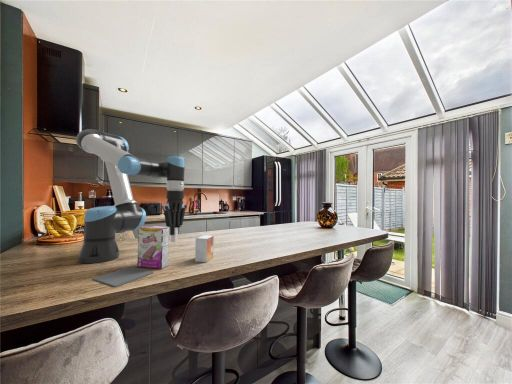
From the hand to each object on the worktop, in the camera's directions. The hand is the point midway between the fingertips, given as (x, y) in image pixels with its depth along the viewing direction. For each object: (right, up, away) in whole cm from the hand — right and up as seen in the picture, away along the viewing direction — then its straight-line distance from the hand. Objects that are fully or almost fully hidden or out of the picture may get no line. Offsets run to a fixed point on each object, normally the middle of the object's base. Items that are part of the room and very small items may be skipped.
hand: (174, 241), depth 98 cm
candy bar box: (-5, -8, -10) cm, 14 cm away
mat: (-10, -8, -21) cm, 24 cm away
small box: (+14, -9, +1) cm, 16 cm away
